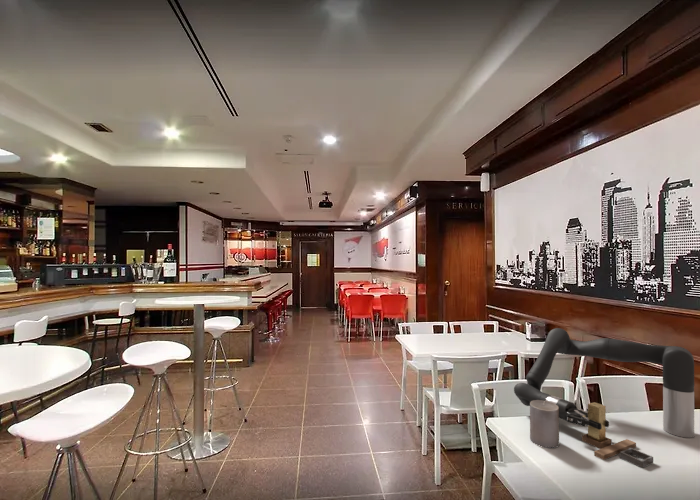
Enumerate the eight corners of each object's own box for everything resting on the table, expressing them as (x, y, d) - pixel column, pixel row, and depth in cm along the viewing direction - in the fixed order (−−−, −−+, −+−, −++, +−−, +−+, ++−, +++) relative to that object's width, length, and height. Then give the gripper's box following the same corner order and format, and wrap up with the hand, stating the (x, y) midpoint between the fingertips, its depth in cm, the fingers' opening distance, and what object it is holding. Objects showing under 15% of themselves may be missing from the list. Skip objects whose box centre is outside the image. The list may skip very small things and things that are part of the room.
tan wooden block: (594, 439, 140) (594, 402, 140) (605, 444, 137) (605, 406, 137) (587, 441, 138) (587, 403, 139) (599, 446, 135) (599, 407, 135)
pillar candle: (537, 432, 145) (537, 394, 145) (564, 443, 137) (563, 402, 137) (524, 440, 139) (524, 400, 139) (551, 451, 131) (551, 409, 131)
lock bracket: (603, 433, 145) (603, 428, 145) (663, 458, 127) (663, 452, 127) (570, 444, 136) (570, 439, 136) (630, 473, 118) (630, 466, 118)
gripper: (548, 401, 147) (592, 419, 132) (571, 395, 154) (616, 411, 138) (548, 420, 147) (593, 440, 132) (571, 414, 154) (616, 431, 138)
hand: (604, 425), depth 135 cm, fingers closed on tan wooden block, 4 cm apart
